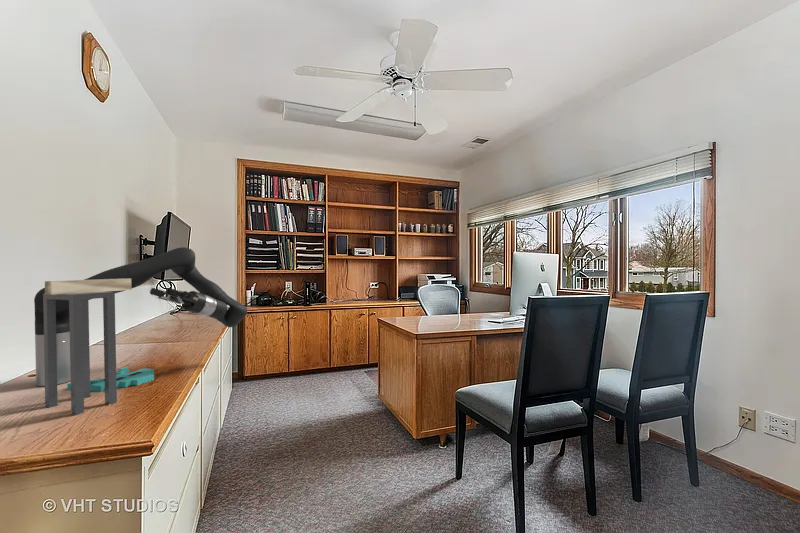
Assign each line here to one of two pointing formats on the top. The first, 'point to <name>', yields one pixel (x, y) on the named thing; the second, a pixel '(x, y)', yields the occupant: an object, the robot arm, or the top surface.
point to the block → (86, 286)
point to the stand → (79, 348)
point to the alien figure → (123, 379)
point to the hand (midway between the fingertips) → (158, 290)
